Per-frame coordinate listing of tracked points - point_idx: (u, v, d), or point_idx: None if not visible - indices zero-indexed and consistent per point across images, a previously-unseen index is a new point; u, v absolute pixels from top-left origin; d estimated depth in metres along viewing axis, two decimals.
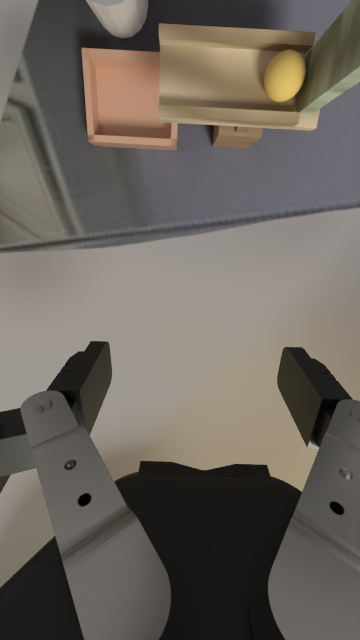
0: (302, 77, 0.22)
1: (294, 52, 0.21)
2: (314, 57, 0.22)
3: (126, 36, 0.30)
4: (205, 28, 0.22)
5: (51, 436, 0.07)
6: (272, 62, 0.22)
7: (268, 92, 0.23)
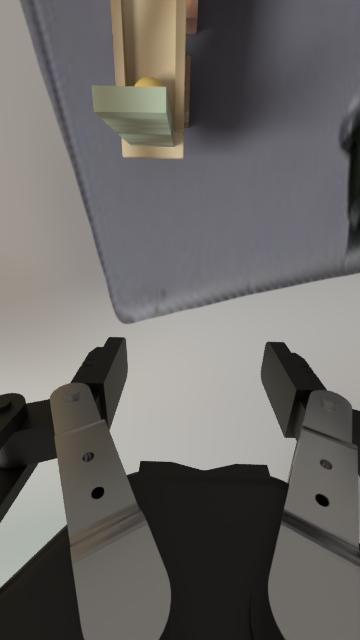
0: None
1: None
2: None
3: None
4: None
5: (75, 427, 0.07)
6: (155, 79, 0.23)
7: (136, 83, 0.23)
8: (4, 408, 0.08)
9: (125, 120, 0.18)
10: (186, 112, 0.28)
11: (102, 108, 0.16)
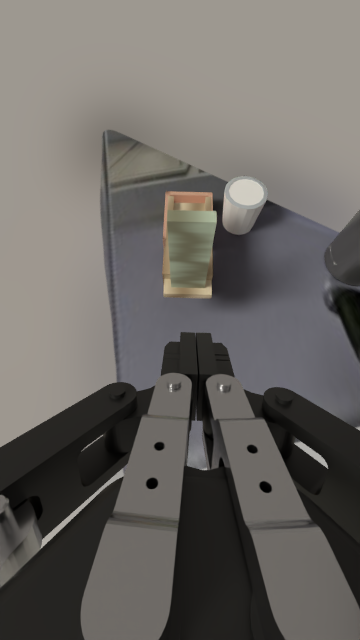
0: None
1: None
2: None
3: (222, 222, 0.49)
4: None
5: (164, 414, 0.08)
6: None
7: None
8: (121, 396, 0.08)
9: (183, 236, 0.25)
10: None
11: (173, 219, 0.23)
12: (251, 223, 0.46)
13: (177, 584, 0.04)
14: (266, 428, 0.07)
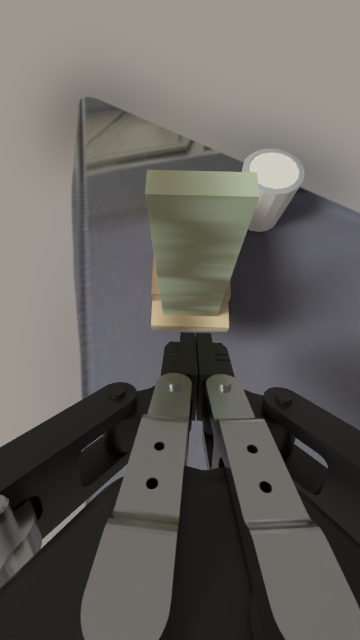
0: None
1: None
2: None
3: None
4: None
5: (164, 414, 0.08)
6: None
7: None
8: (121, 396, 0.08)
9: (183, 230, 0.12)
10: None
11: (159, 191, 0.10)
12: (278, 216, 0.33)
13: (177, 584, 0.04)
14: (266, 428, 0.07)
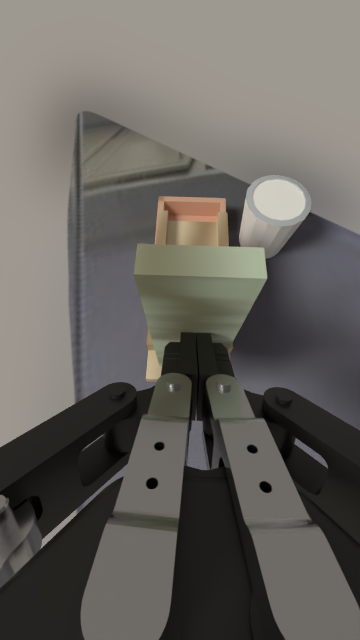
0: None
1: None
2: None
3: (239, 240, 0.35)
4: (227, 246, 0.22)
5: (164, 414, 0.08)
6: None
7: None
8: (121, 396, 0.08)
9: (179, 303, 0.10)
10: None
11: (150, 270, 0.09)
12: (282, 244, 0.32)
13: (177, 584, 0.04)
14: (266, 428, 0.07)
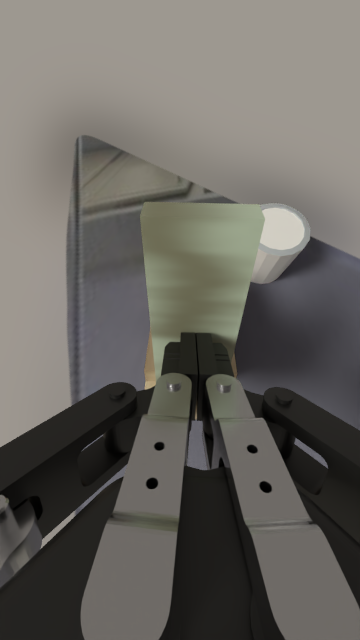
0: None
1: None
2: None
3: None
4: None
5: (164, 414, 0.08)
6: None
7: None
8: (121, 396, 0.08)
9: (181, 266, 0.11)
10: None
11: (155, 214, 0.09)
12: (282, 270, 0.32)
13: (177, 584, 0.04)
14: (266, 428, 0.07)
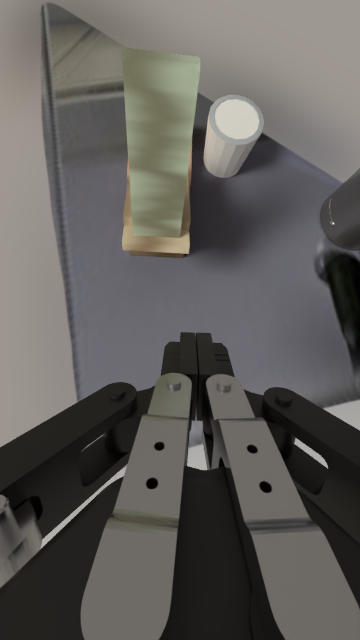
0: None
1: None
2: None
3: (204, 160, 0.39)
4: None
5: (164, 413, 0.08)
6: None
7: None
8: (121, 396, 0.08)
9: (149, 102, 0.16)
10: None
11: (131, 54, 0.15)
12: (239, 164, 0.37)
13: (177, 583, 0.04)
14: (266, 428, 0.07)
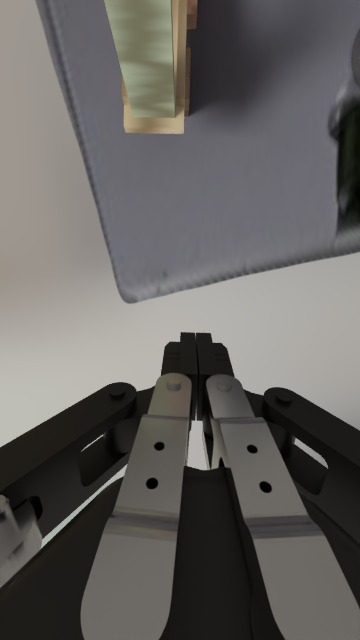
0: None
1: None
2: None
3: None
4: (185, 3, 0.26)
5: (164, 413, 0.08)
6: None
7: None
8: (121, 396, 0.08)
9: (127, 1, 0.17)
10: (186, 100, 0.31)
11: None
12: None
13: (177, 583, 0.04)
14: (266, 428, 0.07)
